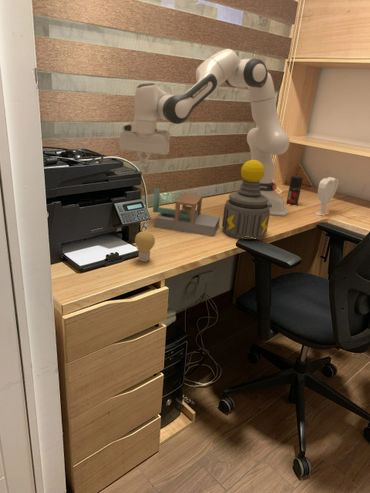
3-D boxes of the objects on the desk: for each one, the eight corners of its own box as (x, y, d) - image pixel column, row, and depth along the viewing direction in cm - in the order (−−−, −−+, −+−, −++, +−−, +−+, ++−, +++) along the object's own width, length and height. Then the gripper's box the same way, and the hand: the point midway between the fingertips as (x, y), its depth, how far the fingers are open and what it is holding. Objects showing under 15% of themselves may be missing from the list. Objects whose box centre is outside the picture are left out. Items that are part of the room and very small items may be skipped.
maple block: (193, 216, 159) (194, 207, 158) (191, 219, 155) (192, 209, 154) (184, 215, 160) (185, 205, 158) (182, 217, 156) (182, 208, 155)
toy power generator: (275, 235, 158) (288, 162, 146) (248, 244, 145) (260, 166, 134) (239, 222, 170) (249, 154, 158) (211, 230, 157) (220, 157, 146)
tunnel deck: (218, 225, 163) (222, 198, 159) (213, 236, 150) (217, 207, 146) (164, 217, 168) (166, 190, 163) (154, 226, 155) (156, 198, 150)
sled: (197, 215, 160) (199, 192, 156) (194, 219, 154) (196, 196, 150) (155, 209, 163) (156, 186, 160) (150, 213, 157) (151, 190, 154)
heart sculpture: (320, 217, 187) (328, 181, 180) (310, 214, 190) (318, 179, 184) (332, 211, 198) (341, 177, 191) (323, 209, 201) (331, 175, 194)
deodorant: (299, 204, 206) (304, 177, 200) (294, 206, 201) (299, 178, 196) (289, 202, 209) (294, 175, 203) (284, 203, 205) (289, 176, 199)
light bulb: (140, 265, 121) (141, 236, 117) (130, 258, 125) (131, 230, 122) (157, 262, 124) (159, 233, 121) (147, 254, 129) (148, 227, 125)
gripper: (172, 130, 149) (170, 165, 155) (123, 124, 153) (123, 159, 158) (168, 131, 144) (165, 167, 149) (117, 125, 147) (117, 161, 153)
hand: (143, 163), depth 154 cm, fingers closed
